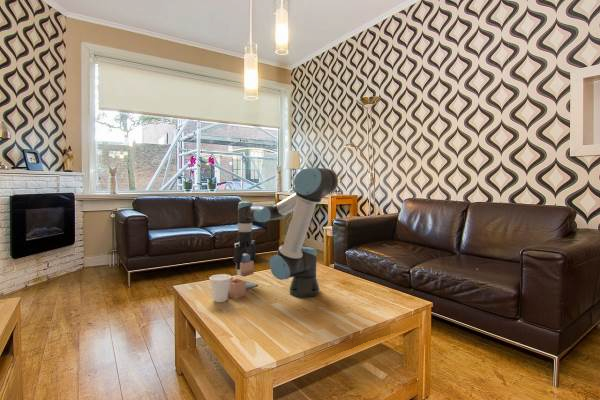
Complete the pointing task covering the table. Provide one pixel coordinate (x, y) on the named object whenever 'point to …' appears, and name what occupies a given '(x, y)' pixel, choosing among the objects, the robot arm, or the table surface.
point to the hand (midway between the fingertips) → (244, 273)
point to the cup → (220, 287)
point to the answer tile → (250, 285)
